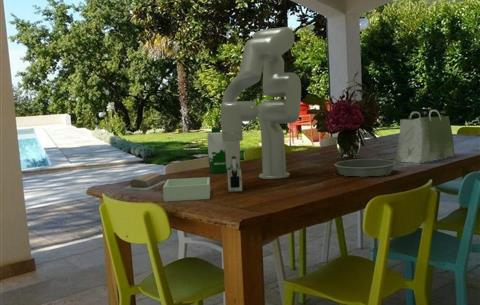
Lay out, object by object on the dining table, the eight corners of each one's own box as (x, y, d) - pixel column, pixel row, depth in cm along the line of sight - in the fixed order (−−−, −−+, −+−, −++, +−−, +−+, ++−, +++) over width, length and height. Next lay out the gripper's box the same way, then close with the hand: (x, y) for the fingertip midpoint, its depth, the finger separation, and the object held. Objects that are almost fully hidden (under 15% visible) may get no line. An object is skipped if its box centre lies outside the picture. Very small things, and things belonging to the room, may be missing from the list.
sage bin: (168, 192, 197) (167, 179, 196) (210, 190, 197) (209, 177, 196) (163, 201, 181) (162, 187, 180) (209, 198, 182) (208, 184, 181)
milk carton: (226, 169, 246) (224, 126, 244) (230, 172, 238) (228, 128, 235) (208, 171, 245) (205, 128, 242) (211, 174, 236) (208, 129, 233)
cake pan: (356, 167, 235) (355, 157, 235) (407, 171, 218) (407, 160, 217) (322, 175, 218) (322, 164, 218) (375, 180, 201) (375, 169, 200)
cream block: (228, 189, 198) (227, 168, 197) (241, 188, 198) (240, 167, 197) (228, 191, 193) (227, 169, 192) (242, 190, 193) (241, 169, 192)
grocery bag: (428, 154, 263) (427, 107, 261) (455, 156, 253) (455, 107, 250) (393, 162, 242) (392, 112, 239) (421, 164, 232) (420, 111, 229)
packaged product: (144, 172, 223) (166, 172, 220) (145, 183, 223) (167, 183, 220) (123, 179, 206) (146, 179, 203) (124, 191, 206) (147, 192, 203)
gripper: (222, 135, 202) (224, 182, 204) (222, 139, 185) (225, 190, 187) (241, 134, 202) (244, 181, 204) (243, 138, 185) (246, 189, 187)
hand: (234, 185), depth 195 cm, fingers closed on cream block, 5 cm apart
